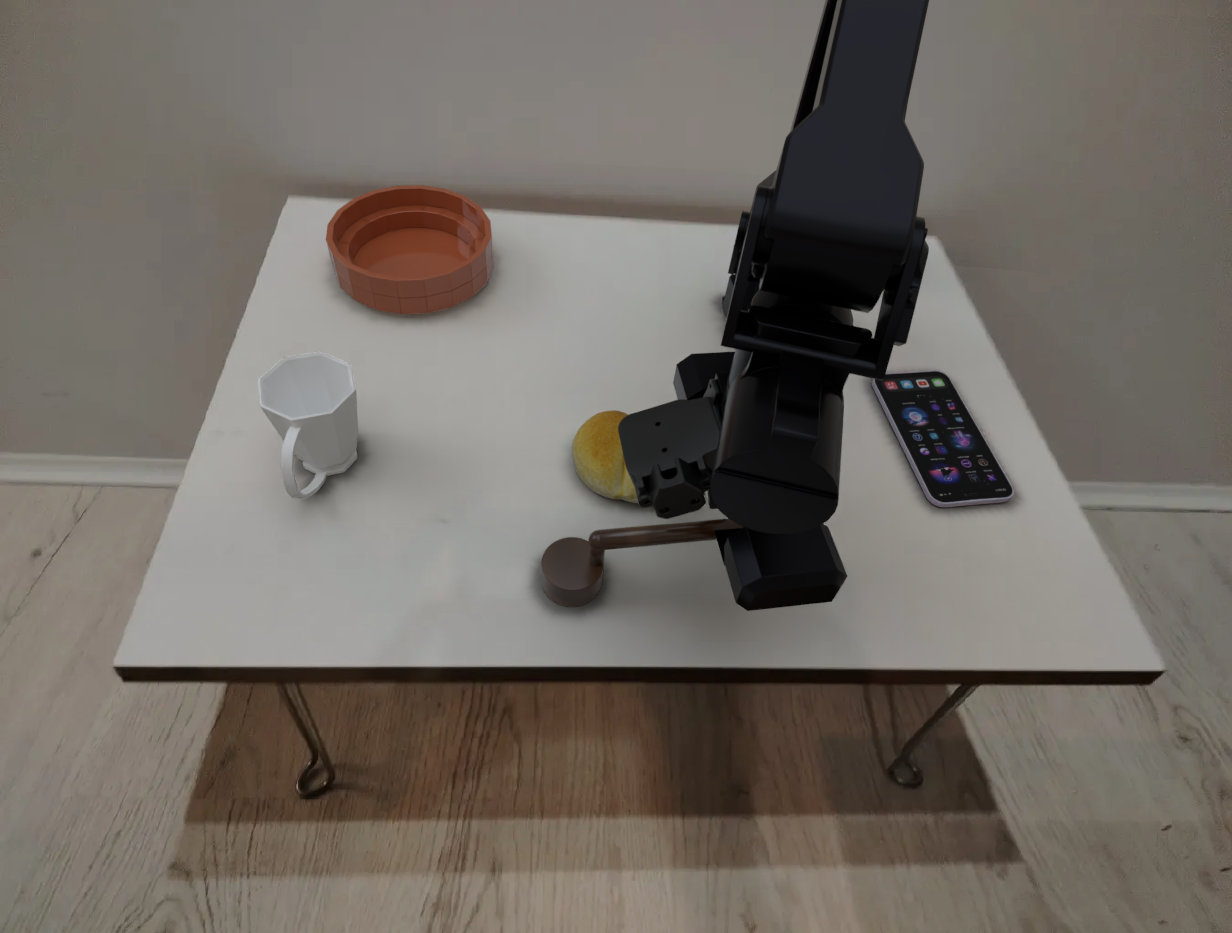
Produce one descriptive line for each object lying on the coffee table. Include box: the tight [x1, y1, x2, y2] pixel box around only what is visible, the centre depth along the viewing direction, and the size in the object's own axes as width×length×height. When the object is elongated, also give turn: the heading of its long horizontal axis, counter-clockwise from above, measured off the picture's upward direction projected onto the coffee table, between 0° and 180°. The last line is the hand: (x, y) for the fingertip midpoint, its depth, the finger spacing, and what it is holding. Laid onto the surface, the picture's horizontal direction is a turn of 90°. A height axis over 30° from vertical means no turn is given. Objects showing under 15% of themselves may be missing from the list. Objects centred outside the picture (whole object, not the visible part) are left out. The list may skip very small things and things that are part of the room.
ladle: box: [540, 518, 743, 608], centre depth 55 cm, size 19×4×6 cm, turn 99°
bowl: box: [325, 184, 494, 315], centre depth 76 cm, size 15×15×4 cm
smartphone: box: [871, 369, 1015, 508], centre depth 68 cm, size 8×1×15 cm
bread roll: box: [571, 409, 638, 504], centre depth 62 cm, size 8×9×4 cm
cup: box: [257, 350, 359, 499], centre depth 58 cm, size 7×10×8 cm
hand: (725, 540), depth 56 cm, fingers open, 6 cm apart
